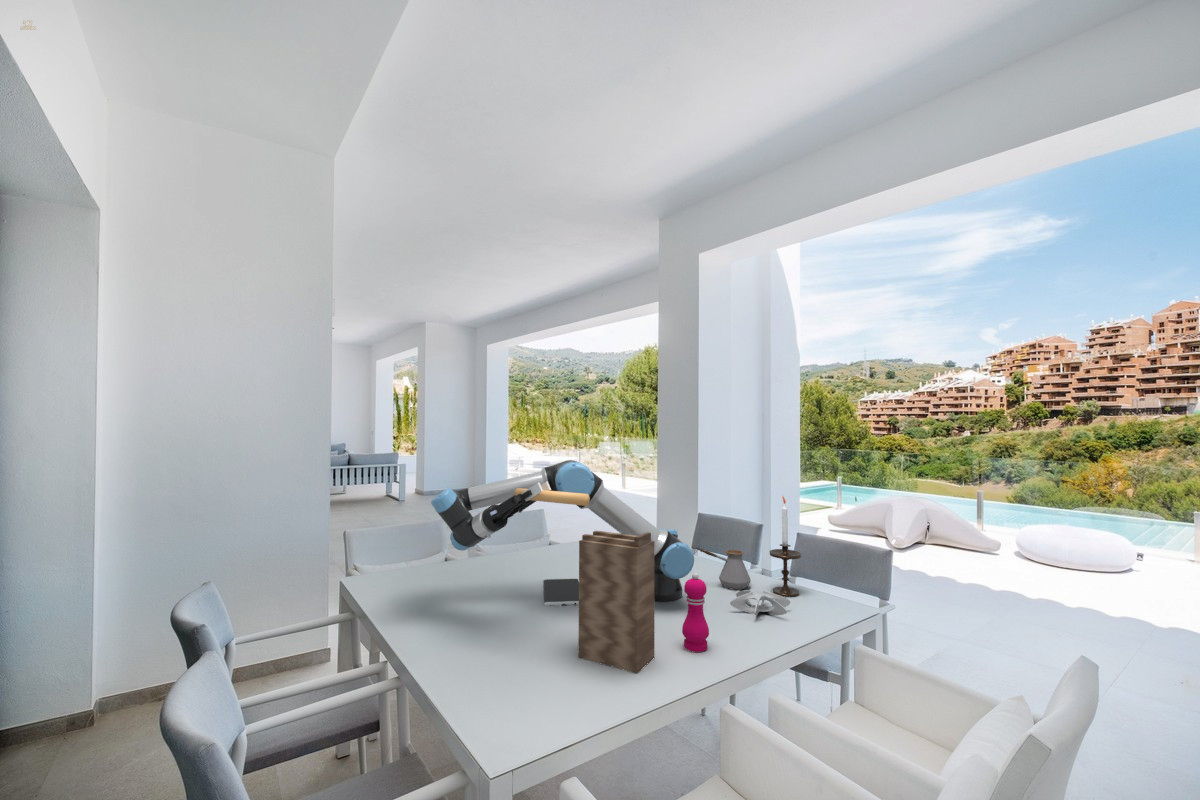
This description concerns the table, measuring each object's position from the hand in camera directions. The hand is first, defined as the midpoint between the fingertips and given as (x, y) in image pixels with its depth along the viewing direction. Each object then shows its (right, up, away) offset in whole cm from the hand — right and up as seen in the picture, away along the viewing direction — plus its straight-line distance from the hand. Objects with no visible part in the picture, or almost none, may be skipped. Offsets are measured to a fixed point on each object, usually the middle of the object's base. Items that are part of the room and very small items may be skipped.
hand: (544, 486), depth 151 cm
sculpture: (+68, -44, +20) cm, 83 cm away
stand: (+20, -42, -14) cm, 49 cm away
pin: (+2, -4, -1) cm, 5 cm away
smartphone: (+2, -45, +39) cm, 60 cm away
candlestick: (+83, -45, +39) cm, 102 cm away
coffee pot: (+62, -45, +46) cm, 89 cm away
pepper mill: (+42, -43, -8) cm, 60 cm away
